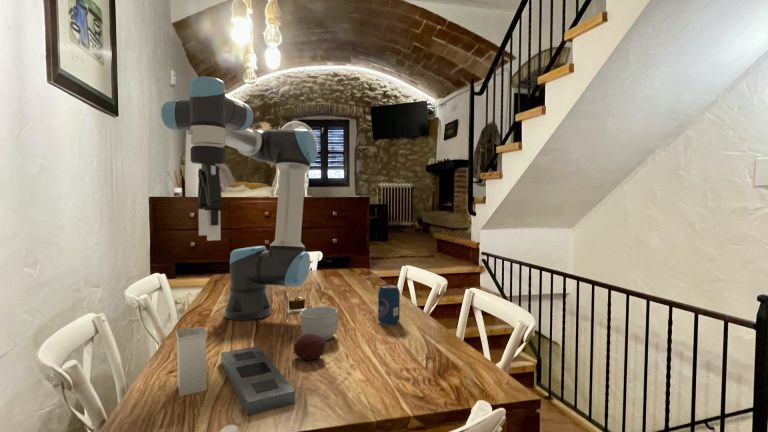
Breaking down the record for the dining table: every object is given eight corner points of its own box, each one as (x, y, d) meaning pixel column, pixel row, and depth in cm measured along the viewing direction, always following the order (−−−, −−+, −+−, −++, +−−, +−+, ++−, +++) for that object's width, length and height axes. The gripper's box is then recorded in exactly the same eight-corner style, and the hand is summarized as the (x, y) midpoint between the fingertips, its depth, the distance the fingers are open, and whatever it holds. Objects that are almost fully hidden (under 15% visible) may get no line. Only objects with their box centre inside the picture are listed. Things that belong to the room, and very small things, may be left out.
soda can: (373, 322, 133) (373, 285, 132) (389, 318, 137) (389, 282, 137) (387, 327, 127) (388, 289, 127) (403, 323, 132) (404, 286, 132)
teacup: (330, 346, 111) (330, 317, 111) (293, 342, 113) (293, 314, 113) (345, 329, 125) (345, 304, 124) (312, 327, 127) (312, 302, 127)
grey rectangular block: (176, 386, 87) (175, 330, 86) (203, 380, 90) (203, 326, 89) (178, 396, 82) (178, 338, 82) (207, 390, 85) (207, 333, 84)
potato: (302, 367, 97) (302, 342, 97) (288, 356, 104) (288, 333, 103) (329, 360, 101) (329, 336, 101) (314, 350, 108) (314, 327, 108)
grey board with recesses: (220, 362, 99) (220, 352, 99) (258, 355, 104) (258, 345, 104) (247, 415, 75) (247, 401, 75) (294, 403, 80) (294, 390, 80)
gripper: (184, 150, 103) (185, 233, 104) (197, 138, 82) (198, 243, 83) (216, 152, 107) (217, 232, 108) (236, 141, 86) (237, 241, 87)
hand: (209, 237), depth 96 cm, fingers open, 13 cm apart
